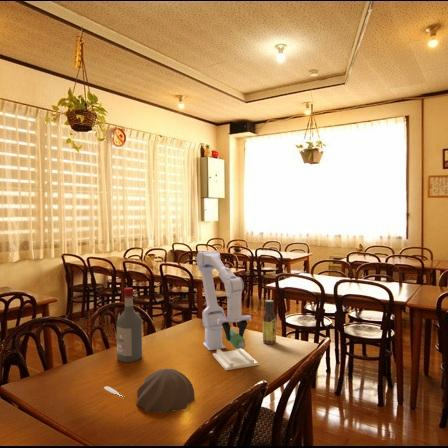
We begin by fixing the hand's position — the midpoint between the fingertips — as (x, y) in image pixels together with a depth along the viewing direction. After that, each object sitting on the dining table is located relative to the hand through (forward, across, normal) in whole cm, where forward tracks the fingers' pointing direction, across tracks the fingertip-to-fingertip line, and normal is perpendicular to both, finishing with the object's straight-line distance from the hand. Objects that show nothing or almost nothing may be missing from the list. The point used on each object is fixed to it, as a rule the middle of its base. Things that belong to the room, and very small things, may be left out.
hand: (234, 339), depth 161 cm
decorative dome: (+9, -33, -22) cm, 41 cm away
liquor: (+9, -41, +18) cm, 46 cm away
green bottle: (+2, 0, -2) cm, 3 cm away
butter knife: (+10, -45, -18) cm, 50 cm away
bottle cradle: (+9, 0, 0) cm, 9 cm away
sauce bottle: (+9, +23, +14) cm, 28 cm away
